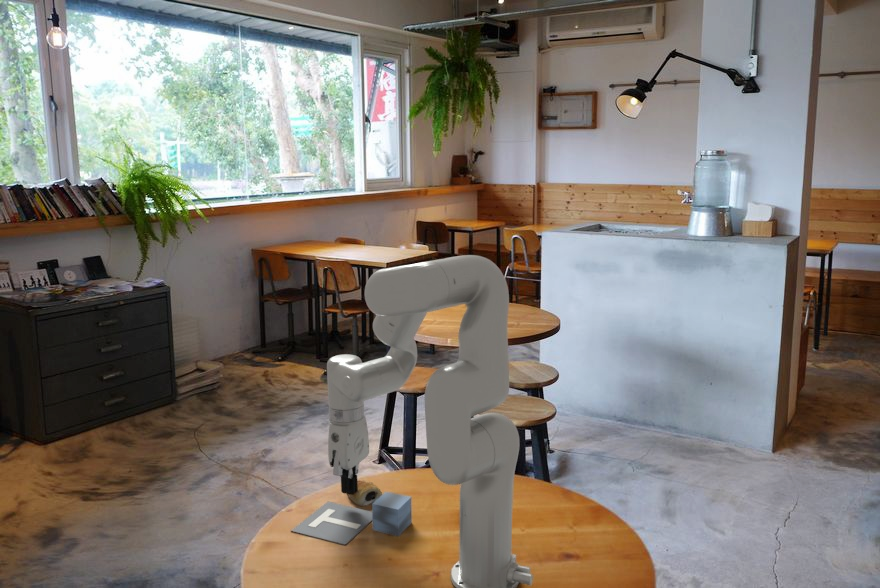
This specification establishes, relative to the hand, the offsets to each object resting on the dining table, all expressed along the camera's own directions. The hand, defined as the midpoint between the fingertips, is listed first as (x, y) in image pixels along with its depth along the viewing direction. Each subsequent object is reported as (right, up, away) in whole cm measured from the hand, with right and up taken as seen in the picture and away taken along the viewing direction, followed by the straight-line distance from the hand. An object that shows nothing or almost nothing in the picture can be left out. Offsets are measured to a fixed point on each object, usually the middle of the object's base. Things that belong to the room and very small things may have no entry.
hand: (349, 492), depth 167 cm
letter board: (-2, -5, -6) cm, 8 cm away
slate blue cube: (+10, -5, -8) cm, 14 cm away
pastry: (+2, -3, +5) cm, 6 cm away
